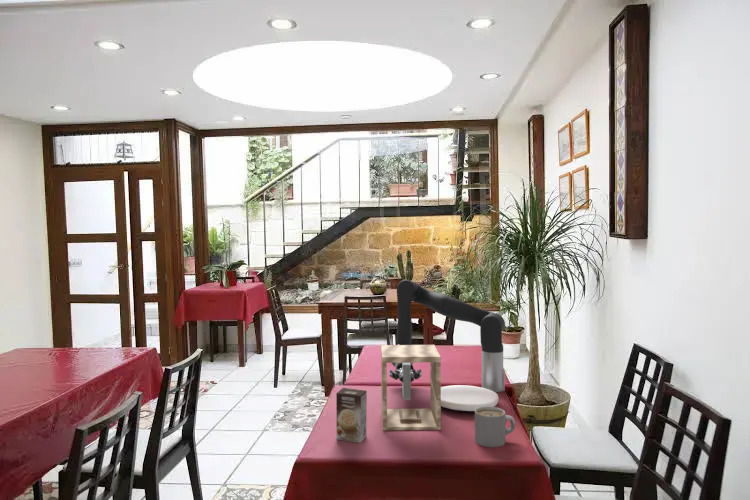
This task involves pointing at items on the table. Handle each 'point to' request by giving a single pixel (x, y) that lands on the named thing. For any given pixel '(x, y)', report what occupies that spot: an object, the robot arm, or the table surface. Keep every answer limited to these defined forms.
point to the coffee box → (351, 414)
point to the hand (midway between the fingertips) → (407, 379)
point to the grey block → (406, 381)
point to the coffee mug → (491, 426)
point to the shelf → (430, 417)
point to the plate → (467, 397)
